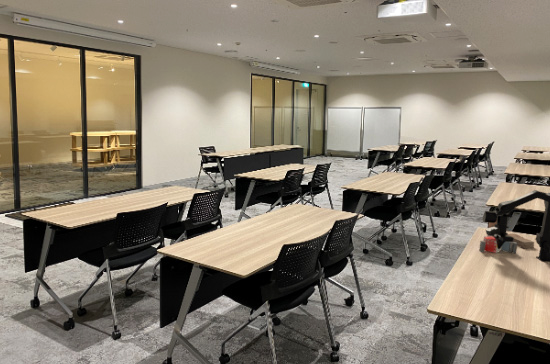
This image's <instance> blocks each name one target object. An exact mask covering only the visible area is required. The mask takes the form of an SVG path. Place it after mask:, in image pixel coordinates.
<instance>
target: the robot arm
mask: <svg viewBox="0 0 550 364" xmlns="http://www.w3.org/2000/svg"><path fill="white" fill-rule="evenodd" d="M536 199H539V200H543V203H544V212H543V218H542V223H541V224H542V225H541V229H540V232H537V233H536V234H535V236H536V237H535V238H534V240H535V242H536V244H537V245H538V247H539V253H538V256H537V255H536V258H537V259H538V260H540V261H541V262H550V192H548V193H547V192H544V191H539V190H536V189H534V190H532V191H530V192H527V193H526V194H523V195H521V196H519V197H517V198H514V199H510V200H505V201H502V202H499V203H498V205H497V207H496V208H495V209H493V211H489V210H485V211H484V213H483V215H482V221H483V223H488V224H489V223H494V222H496V221H497V224H495V225H494V227H491V228H485V233H486V236H487V235H489V236H492V235H494V236H493V237H494V238H495V239H496V242H497V247H498V249H500V248H501V246H502V245H503V244H504V243H505V242H514V238H513V237H512V236H510V235H508V234H509V233H508V232H507V230H508V229H509V227H510V226H508V223H509V218H513V215H512V214H511V212H513V211H514V210H515V209H516V208H518V207H520V206H522V205H524V204H526V203H529V202H532V201H534V200H536Z"/></svg>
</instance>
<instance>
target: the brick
mask: <svg viewBox="0 0 550 364" xmlns="http://www.w3.org/2000/svg"><path fill="white" fill-rule="evenodd" d="M508 235H510V236H512V237H513V238H514V242H516V243H518V244H517V247H520V248H522V249H534V246H535V241H533V240H531V239H528V238H525V237H523V236H520V235H519V234H517V233H508Z"/></svg>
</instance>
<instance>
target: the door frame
mask: <svg viewBox="0 0 550 364" xmlns="http://www.w3.org/2000/svg"><path fill="white" fill-rule="evenodd" d="M485 243H486V242H485V241H483V240H480V244H479V249H478V250H479V252H480V253H485V251H484V250H485ZM517 244H518V243H516V242H513V245H512V252H511V254H517V249H518V246H517Z"/></svg>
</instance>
